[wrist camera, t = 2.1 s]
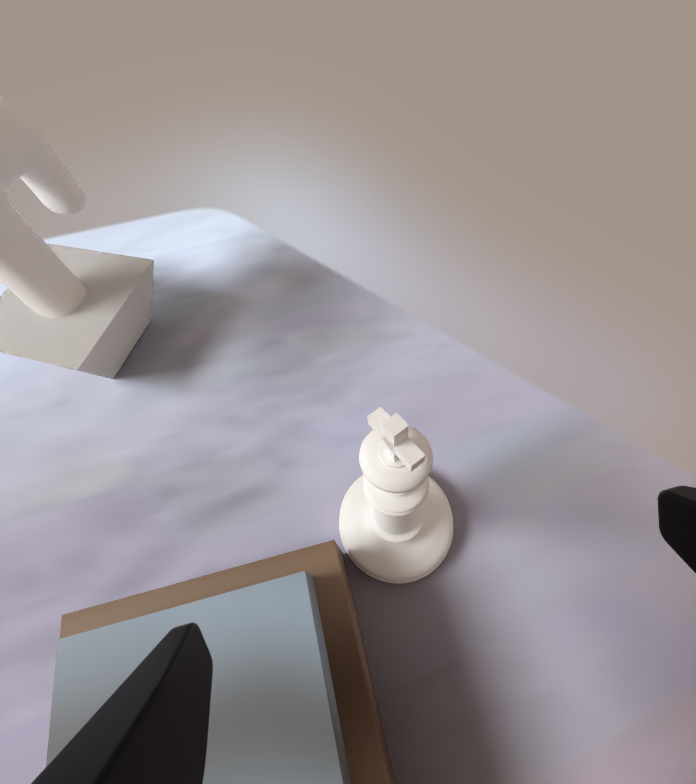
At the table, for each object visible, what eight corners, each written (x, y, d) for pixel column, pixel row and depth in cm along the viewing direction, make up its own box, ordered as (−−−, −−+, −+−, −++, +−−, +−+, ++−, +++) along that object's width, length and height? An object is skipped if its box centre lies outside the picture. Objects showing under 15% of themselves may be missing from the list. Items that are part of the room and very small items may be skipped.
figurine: (191, 292, 27) (-4, -32, 14) (110, 424, 22) (-284, 136, 9) (96, 275, 28) (-158, -29, 15) (4, 396, 24) (-457, 117, 11)
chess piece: (402, 447, 20) (407, 308, 12) (477, 532, 18) (554, 438, 9) (317, 512, 19) (252, 411, 10) (387, 611, 17) (379, 587, 8)
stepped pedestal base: (418, 885, 13) (427, 993, 9) (97, 985, 13) (-35, 1140, 9) (342, 553, 18) (328, 531, 14) (111, 617, 18) (30, 613, 14)
